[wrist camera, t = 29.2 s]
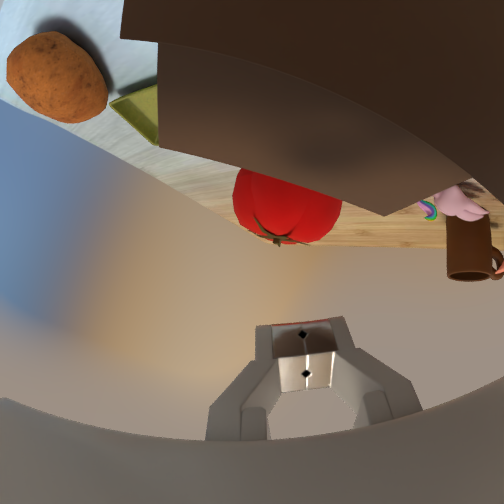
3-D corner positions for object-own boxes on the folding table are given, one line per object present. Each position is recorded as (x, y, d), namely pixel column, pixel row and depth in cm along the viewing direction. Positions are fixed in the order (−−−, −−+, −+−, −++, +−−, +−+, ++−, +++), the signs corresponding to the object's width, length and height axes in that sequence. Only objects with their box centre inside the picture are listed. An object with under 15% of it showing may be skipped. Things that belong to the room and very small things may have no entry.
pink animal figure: (382, 172, 33) (474, 211, 30) (374, 213, 32) (472, 251, 29) (396, 145, 27) (498, 193, 24) (390, 190, 26) (499, 238, 23)
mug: (514, 218, 29) (519, 279, 27) (488, 232, 36) (490, 286, 34) (461, 200, 30) (465, 268, 28) (437, 218, 38) (437, 278, 36)
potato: (73, 1, 12) (30, 58, 10) (127, 84, 24) (109, 139, 23) (17, 32, 12) (-20, 90, 11) (76, 97, 25) (57, 149, 24)
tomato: (350, 128, 25) (345, 237, 22) (340, 183, 36) (332, 266, 33) (232, 120, 27) (205, 219, 25) (251, 173, 38) (235, 252, 36)
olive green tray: (222, 123, 28) (217, 138, 27) (159, 133, 31) (154, 147, 31) (181, 65, 20) (173, 81, 20) (115, 89, 23) (106, 104, 23)
